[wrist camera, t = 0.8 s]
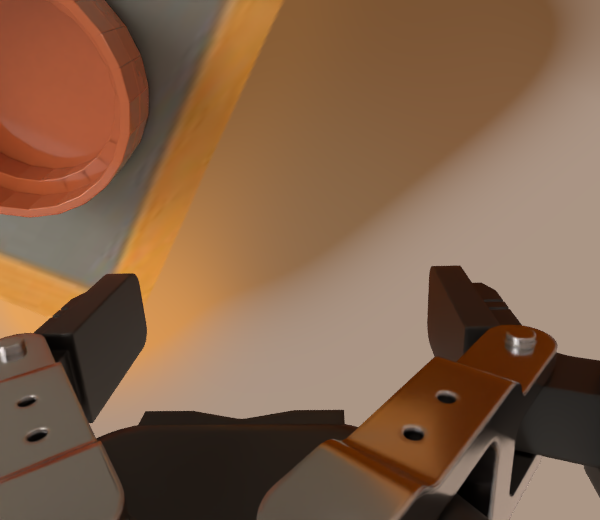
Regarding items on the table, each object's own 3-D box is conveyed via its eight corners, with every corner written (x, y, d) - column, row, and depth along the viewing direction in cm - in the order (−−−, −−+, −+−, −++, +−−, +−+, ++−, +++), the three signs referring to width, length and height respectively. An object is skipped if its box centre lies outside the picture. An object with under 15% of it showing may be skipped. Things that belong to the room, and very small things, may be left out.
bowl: (-85, 138, 37) (-145, 165, 32) (-66, -91, 31) (-137, -104, 26) (121, 212, 41) (98, 247, 36) (178, 20, 34) (159, 28, 29)
